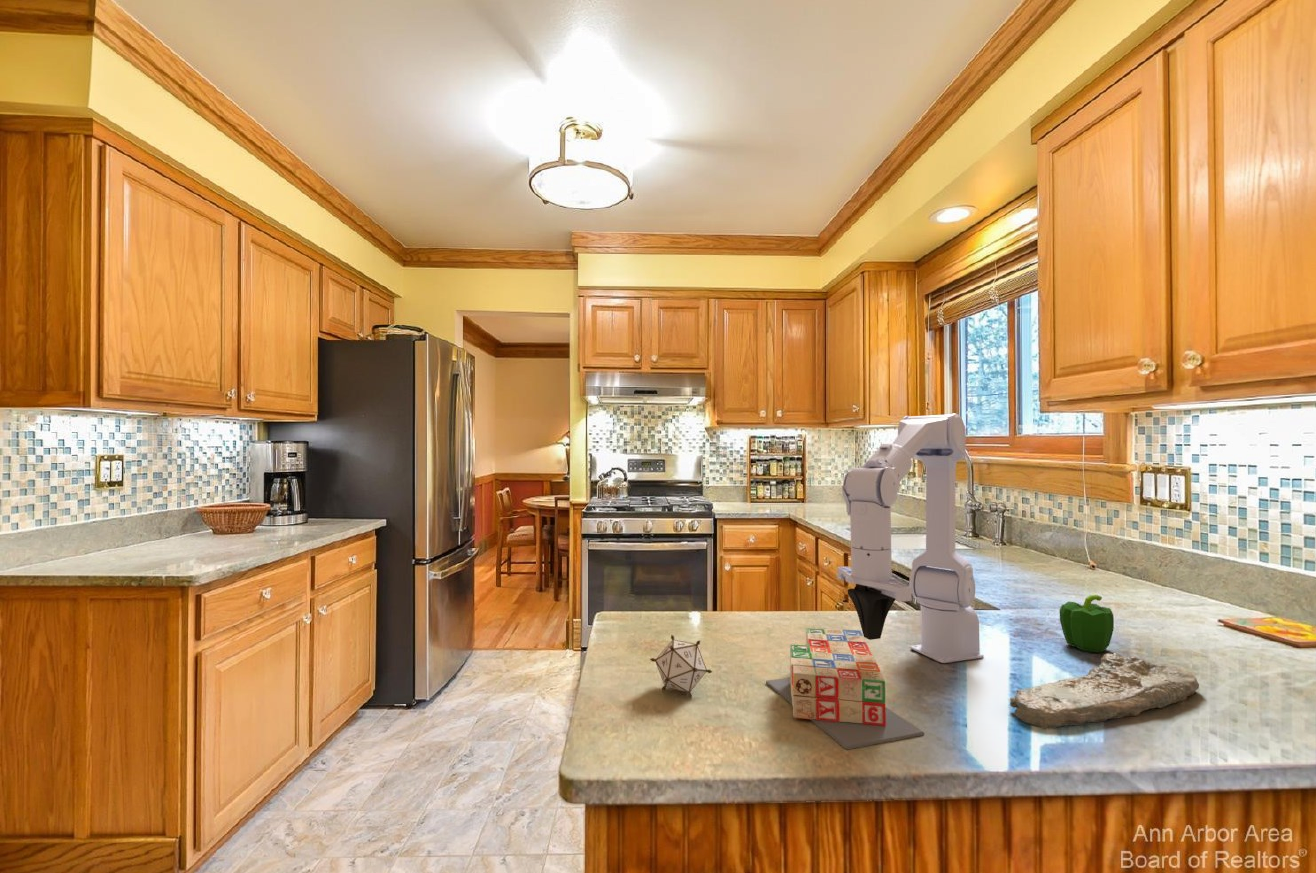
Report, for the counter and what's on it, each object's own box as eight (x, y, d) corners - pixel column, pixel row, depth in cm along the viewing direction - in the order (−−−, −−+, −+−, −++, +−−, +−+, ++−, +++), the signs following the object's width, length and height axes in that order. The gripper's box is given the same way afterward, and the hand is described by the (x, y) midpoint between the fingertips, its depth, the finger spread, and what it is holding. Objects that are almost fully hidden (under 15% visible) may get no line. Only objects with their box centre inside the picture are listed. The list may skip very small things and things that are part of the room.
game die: (679, 721, 85) (658, 682, 80) (655, 682, 93) (634, 644, 88) (727, 686, 88) (709, 646, 83) (700, 650, 95) (682, 612, 90)
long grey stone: (989, 716, 82) (1058, 755, 73) (989, 681, 82) (1058, 715, 72) (1144, 670, 94) (1220, 698, 84) (1143, 639, 93) (1220, 664, 84)
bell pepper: (1067, 653, 103) (1066, 598, 103) (1054, 638, 110) (1053, 588, 111) (1123, 659, 100) (1122, 602, 100) (1106, 644, 107) (1105, 591, 108)
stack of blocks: (862, 666, 96) (788, 661, 98) (861, 629, 96) (788, 625, 99) (886, 727, 75) (791, 718, 78) (885, 680, 75) (791, 672, 78)
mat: (830, 673, 94) (830, 671, 94) (924, 734, 74) (924, 731, 74) (765, 683, 90) (765, 680, 90) (846, 749, 70) (846, 746, 70)
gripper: (820, 541, 90) (821, 625, 90) (881, 557, 76) (882, 657, 76) (857, 538, 92) (858, 621, 92) (923, 554, 78) (924, 651, 78)
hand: (872, 637), depth 84 cm, fingers closed
